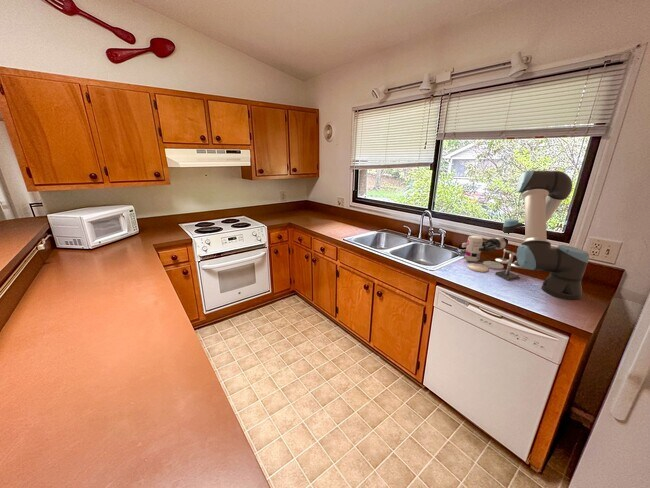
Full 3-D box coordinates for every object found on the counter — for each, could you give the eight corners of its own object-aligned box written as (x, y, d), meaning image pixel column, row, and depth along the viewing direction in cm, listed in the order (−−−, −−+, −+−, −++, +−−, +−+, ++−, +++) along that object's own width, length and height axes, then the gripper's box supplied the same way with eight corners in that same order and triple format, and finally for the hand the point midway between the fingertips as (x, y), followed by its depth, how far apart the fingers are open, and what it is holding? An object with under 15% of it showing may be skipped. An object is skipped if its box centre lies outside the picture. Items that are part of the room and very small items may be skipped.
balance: (525, 277, 149) (533, 248, 144) (500, 282, 144) (507, 252, 138) (512, 271, 157) (518, 244, 151) (487, 276, 151) (493, 247, 146)
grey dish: (507, 268, 161) (508, 266, 161) (493, 270, 158) (494, 269, 158) (491, 261, 171) (492, 260, 171) (478, 263, 168) (478, 262, 168)
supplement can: (462, 259, 171) (466, 237, 166) (466, 256, 177) (470, 234, 172) (476, 262, 166) (481, 239, 161) (480, 259, 171) (484, 236, 167)
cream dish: (492, 270, 158) (493, 269, 157) (478, 273, 154) (478, 271, 154) (477, 263, 168) (477, 262, 167) (463, 266, 164) (463, 264, 164)
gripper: (509, 254, 166) (481, 258, 159) (480, 244, 185) (454, 247, 178) (512, 243, 163) (483, 247, 156) (482, 234, 182) (456, 237, 175)
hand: (468, 247), depth 167 cm, fingers closed on supplement can, 8 cm apart
